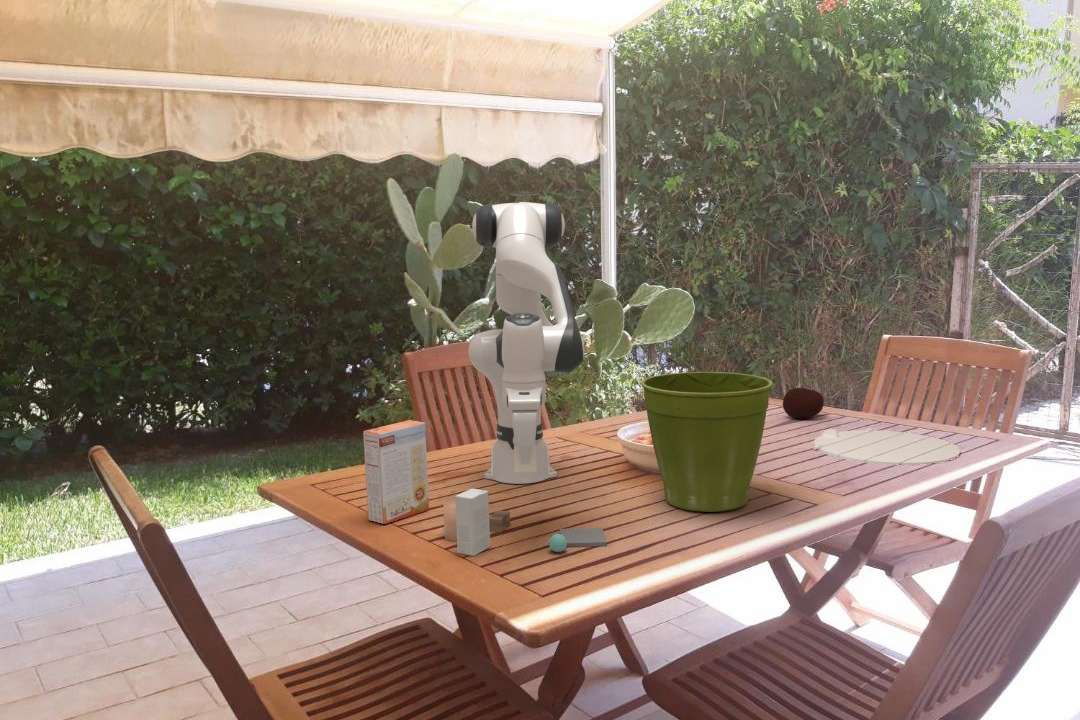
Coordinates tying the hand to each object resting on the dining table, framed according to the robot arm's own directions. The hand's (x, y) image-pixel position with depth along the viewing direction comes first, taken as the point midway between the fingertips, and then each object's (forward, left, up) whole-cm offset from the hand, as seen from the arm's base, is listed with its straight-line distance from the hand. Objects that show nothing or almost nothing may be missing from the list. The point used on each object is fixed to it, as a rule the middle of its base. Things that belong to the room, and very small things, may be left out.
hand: (525, 459), depth 191 cm
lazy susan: (-71, +104, -18) cm, 127 cm away
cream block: (0, 0, -2) cm, 2 cm away
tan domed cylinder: (-3, -14, -17) cm, 22 cm away
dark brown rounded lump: (-112, +93, -17) cm, 147 cm away
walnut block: (-8, -6, -17) cm, 20 cm away
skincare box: (+6, -11, -17) cm, 21 cm away
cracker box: (-18, -29, -17) cm, 38 cm away
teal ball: (+8, +6, -17) cm, 20 cm away
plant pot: (-23, +42, -17) cm, 51 cm away
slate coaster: (+1, +12, -17) cm, 21 cm away
